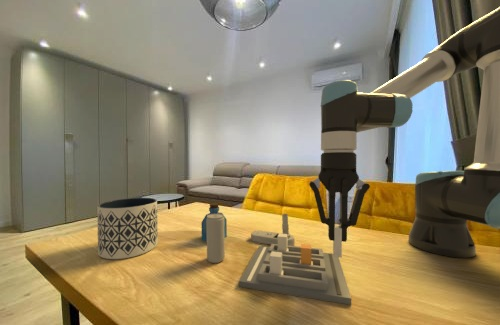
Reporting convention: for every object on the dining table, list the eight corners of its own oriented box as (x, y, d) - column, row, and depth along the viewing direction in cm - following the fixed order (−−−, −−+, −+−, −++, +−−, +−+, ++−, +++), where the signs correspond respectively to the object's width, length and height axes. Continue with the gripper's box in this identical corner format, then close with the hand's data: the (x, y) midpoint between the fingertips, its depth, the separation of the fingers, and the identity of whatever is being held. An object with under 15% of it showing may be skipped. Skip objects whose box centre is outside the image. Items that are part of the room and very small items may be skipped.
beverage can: (209, 265, 54) (209, 219, 54) (204, 258, 58) (204, 214, 58) (227, 261, 56) (226, 216, 56) (221, 254, 61) (220, 212, 60)
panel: (337, 258, 57) (337, 248, 57) (351, 304, 39) (351, 290, 39) (259, 249, 63) (259, 240, 63) (238, 286, 45) (238, 274, 45)
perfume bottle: (201, 240, 71) (201, 205, 71) (211, 234, 77) (211, 201, 77) (217, 243, 69) (217, 206, 69) (226, 236, 74) (226, 203, 74)
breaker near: (283, 274, 47) (283, 252, 47) (282, 280, 45) (282, 257, 45) (270, 272, 48) (270, 251, 48) (268, 278, 46) (268, 255, 46)
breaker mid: (312, 265, 51) (312, 244, 51) (312, 270, 49) (312, 248, 49) (299, 263, 52) (299, 243, 52) (299, 268, 50) (299, 247, 50)
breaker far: (288, 252, 59) (288, 234, 59) (287, 255, 56) (287, 237, 56) (277, 250, 59) (277, 233, 59) (276, 254, 57) (276, 236, 57)
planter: (166, 247, 65) (165, 201, 65) (106, 267, 54) (105, 211, 54) (146, 235, 76) (145, 196, 76) (92, 249, 65) (91, 202, 65)
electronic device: (254, 209, 75) (295, 213, 68) (255, 236, 75) (296, 243, 68) (247, 213, 71) (290, 217, 63) (248, 242, 71) (291, 249, 63)
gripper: (365, 152, 50) (364, 251, 50) (308, 152, 54) (307, 245, 54) (375, 151, 43) (373, 266, 43) (308, 151, 46) (307, 258, 47)
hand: (337, 254), depth 48 cm, fingers closed
